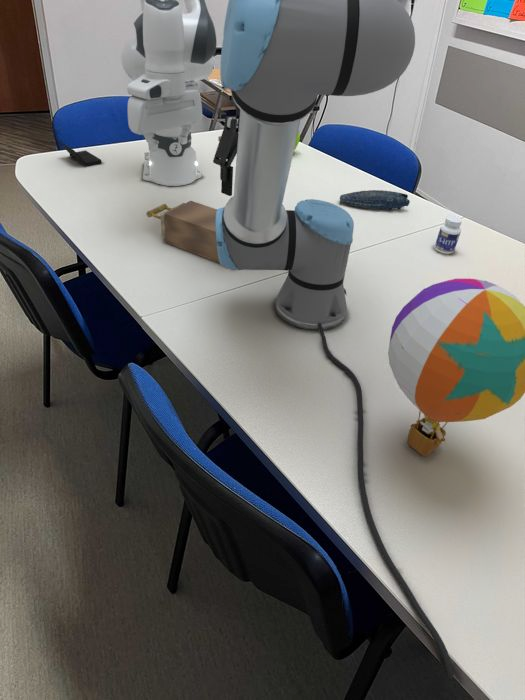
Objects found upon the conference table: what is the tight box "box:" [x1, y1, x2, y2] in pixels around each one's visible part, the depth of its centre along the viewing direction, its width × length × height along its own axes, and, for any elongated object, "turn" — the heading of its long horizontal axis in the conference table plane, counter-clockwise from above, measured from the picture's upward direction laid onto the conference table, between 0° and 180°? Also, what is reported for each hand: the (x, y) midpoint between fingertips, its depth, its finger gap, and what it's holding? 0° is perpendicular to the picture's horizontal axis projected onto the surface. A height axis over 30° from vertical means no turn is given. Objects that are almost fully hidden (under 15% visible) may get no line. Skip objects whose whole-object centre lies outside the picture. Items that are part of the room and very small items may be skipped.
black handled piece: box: [57, 140, 103, 167], centre depth 170 cm, size 12×7×10 cm
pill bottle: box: [434, 215, 463, 255], centre depth 137 cm, size 5×5×9 cm
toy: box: [387, 278, 525, 458], centre depth 75 cm, size 20×20×30 cm
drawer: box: [146, 202, 186, 239], centre depth 131 cm, size 26×9×6 cm, turn 58°
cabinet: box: [163, 200, 220, 264], centre depth 129 cm, size 21×10×8 cm, turn 59°
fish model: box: [339, 189, 411, 211], centre depth 158 cm, size 7×21×5 cm, turn 84°
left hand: (168, 147), depth 125 cm, fingers open, 8 cm apart
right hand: (246, 187), depth 123 cm, fingers open, 13 cm apart
